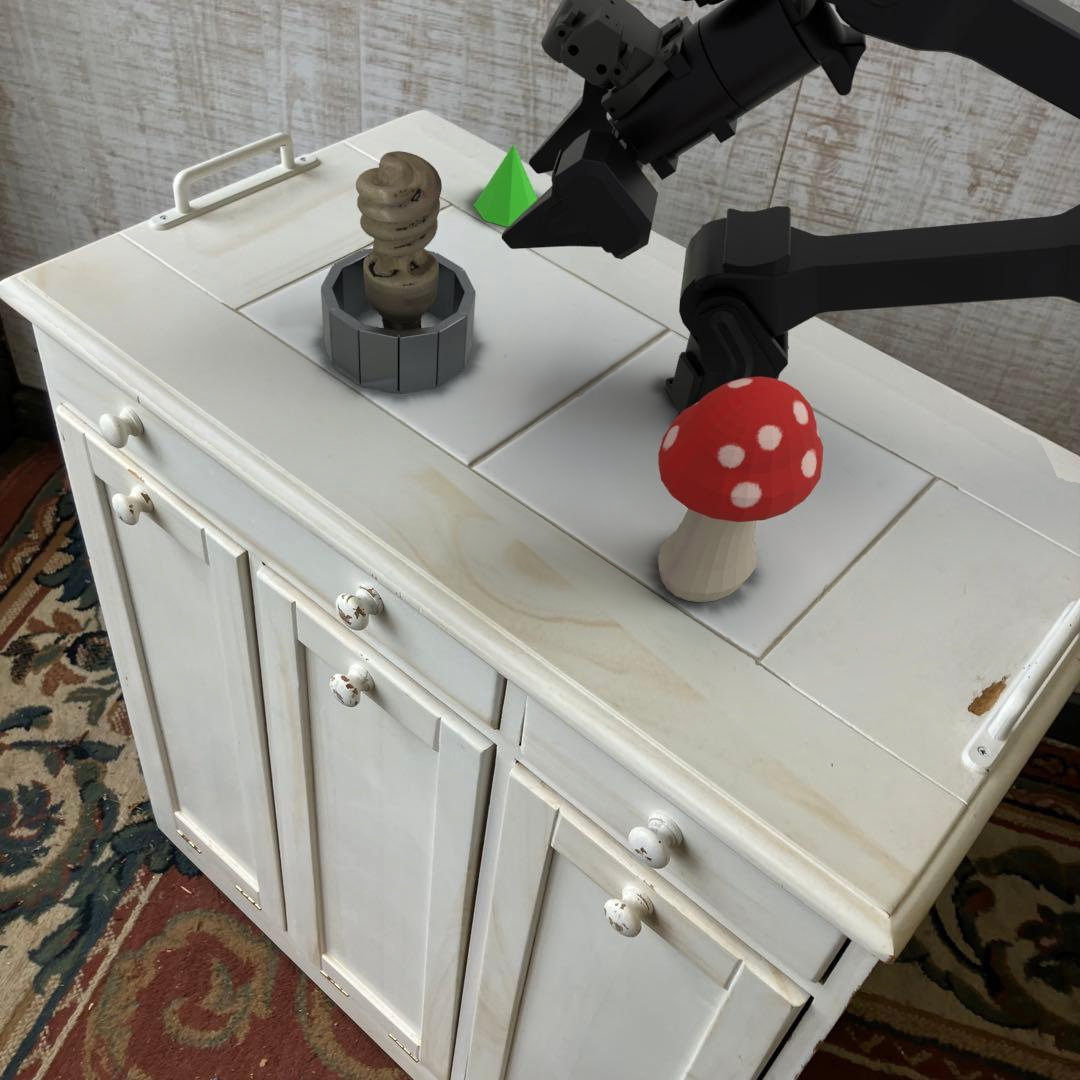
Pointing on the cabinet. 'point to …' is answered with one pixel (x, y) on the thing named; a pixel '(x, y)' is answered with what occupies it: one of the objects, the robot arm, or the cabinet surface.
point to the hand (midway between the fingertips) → (520, 203)
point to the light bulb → (400, 237)
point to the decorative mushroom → (733, 480)
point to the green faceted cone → (506, 192)
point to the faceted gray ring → (392, 353)
